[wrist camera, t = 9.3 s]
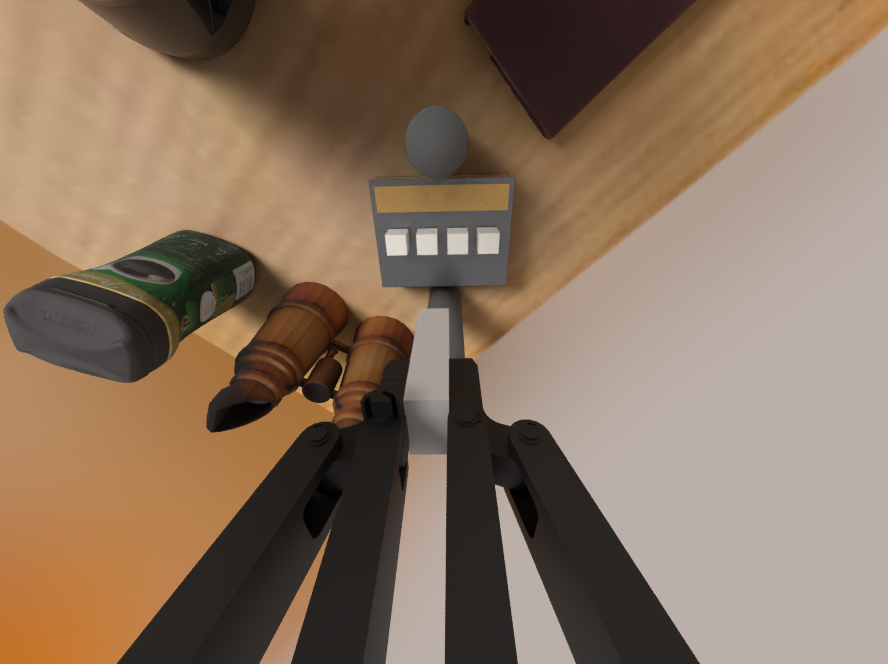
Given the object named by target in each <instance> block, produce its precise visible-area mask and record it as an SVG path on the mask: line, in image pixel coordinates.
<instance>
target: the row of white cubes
mask: <svg viewBox="0 0 888 664" xmlns="http://www.w3.org/2000/svg"><path fill="white" fill-rule="evenodd" d="M499 238H500V232H499V231H498V229H497V227H477V240H476V248H477V252H478V254H498V252H499ZM385 241H386V249H387V256H395V255H408V252H409V249H410V243H409V231H408V229H389V230H388V231H387V233H386V234H385ZM416 242H417V255H438V228H425V229H418V230H417V233H416ZM447 246H448V255H452V254H468V230H467V228H447Z"/></svg>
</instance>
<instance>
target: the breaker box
mask: <svg viewBox="0 0 888 664" xmlns="http://www.w3.org/2000/svg"><path fill="white" fill-rule="evenodd" d="M514 184H515V177H514V176H512V175H510V174H469V175H450V176H447V177H445V178H439V179H436V178H429V177H427V176H385V177H375V178H373V179H371V180H369V188H370V195H371V203H372V210H373V218H374V225H375V233H376V240H377V248H378V255H379V263H380V271H381V278H382V286H383V287H423V286H488V285H506V279H507V267H508V255H509V243H510V231H511V220H512V208H513V196H514ZM477 227H497V229H498V231H499V232H500V238H499V252H498V254H478V252H477V248H476V240H477ZM425 228H438V255H417V242H416V233H417V230H418V229H425ZM447 228H467V230H468V254H452V255H448V246H447ZM389 229H408V231H409V243H410V249H409V252H408V255H395V256H387V249H386V241H385V234H386V233H387V231H388V230H389Z"/></svg>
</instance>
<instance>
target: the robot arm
mask: <svg viewBox="0 0 888 664" xmlns="http://www.w3.org/2000/svg"><path fill="white" fill-rule="evenodd" d="M79 1H80V2H81V3H83V4H84V5H85V6H87V7H88V8H89V9H91V10H92V11H93V12H95V13H96V14H98V15H99V16H100V17H102V18H103V19H104V20H106V21H107V22H108V23H109V24H110V25H112V26H113V27H114V28H115V29H117V30H118V31H120V32H121V33H123V34H124V35H126V36H127V37H129V38H130V39H132V40H134V41H136V42H138V43H140V44H142V45H144V46H146V47H148V48H150V49H153V50H156V51H158V52H162V53H165V54H168V55H171V56H175V57H178V58H183V59H189V60H203V59H209V58H213V57H216V56H218V55H220V54H222V53H224V52H226V51H227V50H228V49H230V48H231V47H232V46H233V45H234V44H235V43H236V42H237V41H238V40H239V39H240V37H241V36H242V34H243V33H244V31H245V29H246V27H247V25H248V23H249V20H250V18H251V15H252V11H253V8H254V3H255V0H79ZM360 404H361V409H362V413H363V418H364V420H363V421H361V422H360V423H358V424H355V425H352V426H349V427H345V428H341V429H339V428H338V426H337V425H336V424H334V423H332V422H319V423H315V424H313V425H311V426H309V427H308V428H306V429H305V430H304V431H303V432H302V433H301V434H300V435H299V437H298V438H297V439H296V440H295V442H294V443H293V444H292V446H291V447H290V448H289V449H288V450H287V452H286V453H285V454H284V455H283V457H282V458H281V459H280V460H279V462H278V463H277V464H276V465H275V467H274V468H273V469H272V470H271V472H270V473H269V474H268V475H267V477H266V478H265V479H264V480H263V482H262V483H261V484H260V485H259V487H258V488H257V489H256V490H255V492H254V493H253V494H252V495H251V497H250V498H249V499H248V500H247V502H246V503H245V504H244V505H243V507H242V508H241V509H240V510H239V512H238V513H237V514H236V515H235V517H234V518H233V519H232V520H231V522H230V523H229V524H228V526H227V527H226V528H225V529H224V530H223V532H222V533H221V534H220V535H219V537H218V538H217V539H216V540H215V542H214V543H213V544H212V545H211V547H210V548H209V549H208V550H207V552H206V553H205V554H204V555H203V557H202V558H201V559H200V560H199V562H198V563H197V564H196V565H195V567H194V568H193V569H192V570H191V572H190V573H189V574H188V575H187V577H186V578H185V579H184V580H183V582H182V583H181V584H180V585H179V587H178V588H177V589H176V590H175V592H174V593H173V594H172V595H171V597H170V598H169V599H168V600H167V602H166V603H165V604H164V605H163V607H162V608H161V609H160V610H159V612H158V613H157V614H156V615H155V617H154V618H153V619H152V620H151V622H150V623H149V624H148V625H147V627H146V628H145V629H144V630H143V632H142V633H141V634H140V635H139V637H138V638H137V639H136V640H135V642H134V643H133V644H132V645H131V647H130V648H129V649H128V650H127V652H126V653H125V654H124V655H123V657H122V658H121V659H120V660H119V662H118V663H117V664H259V663H260V661H261V659H262V657H263V655H264V653H265V652H266V650H267V648H268V646H269V644H270V642H271V640H272V639H273V637H274V635H275V633H276V631H277V629H278V627H279V625H280V623H281V622H282V620H283V618H284V616H285V614H286V612H287V610H288V608H289V607H290V604H291V602H292V600H293V599H294V597H295V595H296V593H297V591H298V590H299V588H300V585H301V584H302V582H303V580H304V578H305V576H306V574H307V573H308V571H309V569H310V567H311V565H312V563H313V561H314V559H315V558H316V556H317V554H318V552H319V550H320V548H321V546H322V544H323V542H324V541H325V539H326V537H327V535H328V533H329V531H330V529H331V532H330V535H329V539H328V542H327V545H326V548H325V552H324V555H323V558H322V562H321V566H320V568H319V572H318V575H317V579H316V582H315V585H314V588H313V592H312V595H311V599H310V602H309V605H308V609H307V612H306V615H305V619H304V622H303V626H302V629H301V632H300V635H299V639H298V642H297V645H296V649H295V652H294V655H293V659H292V662H291V664H385V662H386V653H387V645H388V635H389V628H390V620H391V611H392V603H393V594H394V586H395V578H396V570H397V561H398V553H399V544H400V536H401V528H402V519H403V510H404V503H405V494H406V485H407V477H408V468H409V467H408V451H409V452H410V454H447V503H446V505H447V508H446V512H447V513H446V603H445V607H446V608H445V609H446V612H445V664H518V662H517V654H516V647H515V638H514V630H513V623H512V616H511V607H510V599H509V591H508V584H507V576H506V569H505V560H504V553H503V545H502V537H501V530H500V522H499V514H498V506H497V498H496V490H495V484H496V485H499V486H502V487H504V490H505V493H506V495H507V497H508V500H509V502H510V505H511V507H512V510H513V512H514V514H515V517H516V519H517V521H518V524H519V527H520V528H521V531H522V533H523V536H524V539H525V541H526V543H527V545H528V548H529V550H530V553H531V556H532V558H533V560H534V563H535V565H536V568H537V570H538V572H539V575H540V577H541V580H542V582H543V585H544V587H545V589H546V592H547V594H548V597H549V599H550V601H551V604H552V606H553V609H554V611H555V614H556V616H557V618H558V621H559V623H560V625H561V628H562V630H563V633H564V635H565V638H566V640H567V642H568V645H569V647H570V650H571V652H572V655H573V657H574V659H575V662H576V664H700V663H699V662H698V660H697V659H696V657H695V656H694V654H693V653H692V651H691V649H690V648H689V646H688V645H687V643H686V642H685V640H684V639H683V637H682V636H681V634H680V632H679V631H678V630H677V628H676V626H675V625H674V623H673V622H672V620H671V619H670V617H669V616H668V614H667V612H666V611H665V609H664V608H663V606H662V605H661V603H660V602H659V600H658V599H657V597H656V595H655V594H654V593H653V591H652V589H651V588H650V586H649V585H648V583H647V582H646V580H645V579H644V577H643V576H642V574H641V572H640V571H639V569H638V568H637V566H636V565H635V563H634V562H633V560H632V559H631V557H630V555H629V554H628V552H627V551H626V550H625V548H624V546H623V545H622V543H621V542H620V540H619V539H618V537H617V535H616V534H615V532H614V531H613V529H612V528H611V526H610V525H609V523H608V522H607V520H606V519H605V517H604V515H603V514H602V512H601V511H600V509H599V508H598V506H597V505H596V503H595V502H594V500H593V498H592V497H591V495H590V494H589V492H588V491H587V489H586V488H585V486H584V485H583V483H582V482H581V480H580V479H579V477H578V475H577V474H576V472H575V471H574V469H573V468H572V466H571V465H570V463H569V462H568V460H567V458H566V457H565V455H564V454H563V452H562V451H561V449H560V448H559V446H558V445H557V443H556V442H555V440H554V438H553V437H552V435H551V434H550V432H549V431H548V430H547V429H546V428H545V427H544V426H543V425H541V424H540V423H538V422H536V421H532V420H519V421H517V422H514V423H513V424H512V425H511V426H507V425H504V424H500V423H497V422H495V421H493V420H492V419H490V418H489V417H488V416H487V415H486V414H485V412H484V410H483V405H482V397H481V389H480V383H479V374H478V366H477V364H476V363H475V362H474V360H473V359H472V358H458V359H450V349H449V308H436V309H419V313H418V319H417V324H416V330H415V336H414V341H413V347H412V353H411V359H410V360H391V361H390V362H389V363H388V364H387V365H386V366H385V367H384V370H383V374H382V378H381V381H380V385H379V388H378V389H375V390H373V391H370V392H368V393H367V394H366V395H365V396H363V398H362V399H361V401H360ZM331 527H332V528H331Z"/></svg>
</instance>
